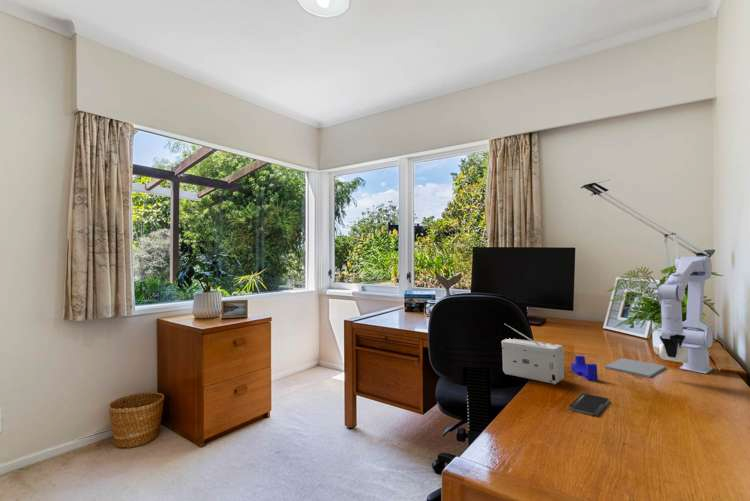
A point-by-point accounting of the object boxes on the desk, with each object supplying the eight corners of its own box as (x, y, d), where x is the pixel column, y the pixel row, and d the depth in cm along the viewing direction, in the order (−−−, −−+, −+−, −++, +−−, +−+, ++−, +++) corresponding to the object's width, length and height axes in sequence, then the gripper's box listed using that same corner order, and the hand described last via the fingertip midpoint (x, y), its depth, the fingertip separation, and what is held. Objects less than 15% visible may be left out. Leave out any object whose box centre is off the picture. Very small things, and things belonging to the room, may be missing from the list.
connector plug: (661, 356, 132) (660, 339, 132) (689, 361, 125) (688, 343, 125) (658, 358, 130) (657, 340, 130) (686, 363, 124) (685, 344, 124)
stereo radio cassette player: (565, 380, 131) (563, 325, 132) (558, 386, 125) (556, 329, 126) (509, 369, 146) (507, 320, 146) (500, 374, 140) (498, 323, 140)
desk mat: (622, 360, 153) (622, 358, 153) (665, 368, 141) (665, 366, 141) (604, 368, 144) (604, 366, 144) (649, 377, 131) (649, 375, 131)
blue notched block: (571, 370, 142) (570, 355, 142) (583, 370, 142) (583, 355, 142) (584, 381, 130) (583, 364, 131) (597, 381, 130) (596, 364, 130)
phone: (567, 407, 107) (582, 392, 118) (568, 411, 107) (582, 396, 118) (598, 415, 101) (610, 398, 112) (598, 419, 101) (611, 402, 112)
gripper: (664, 314, 135) (666, 350, 135) (650, 318, 127) (652, 357, 127) (688, 316, 130) (690, 353, 129) (675, 321, 121) (677, 361, 121)
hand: (673, 355), depth 128 cm, fingers closed on connector plug, 3 cm apart
